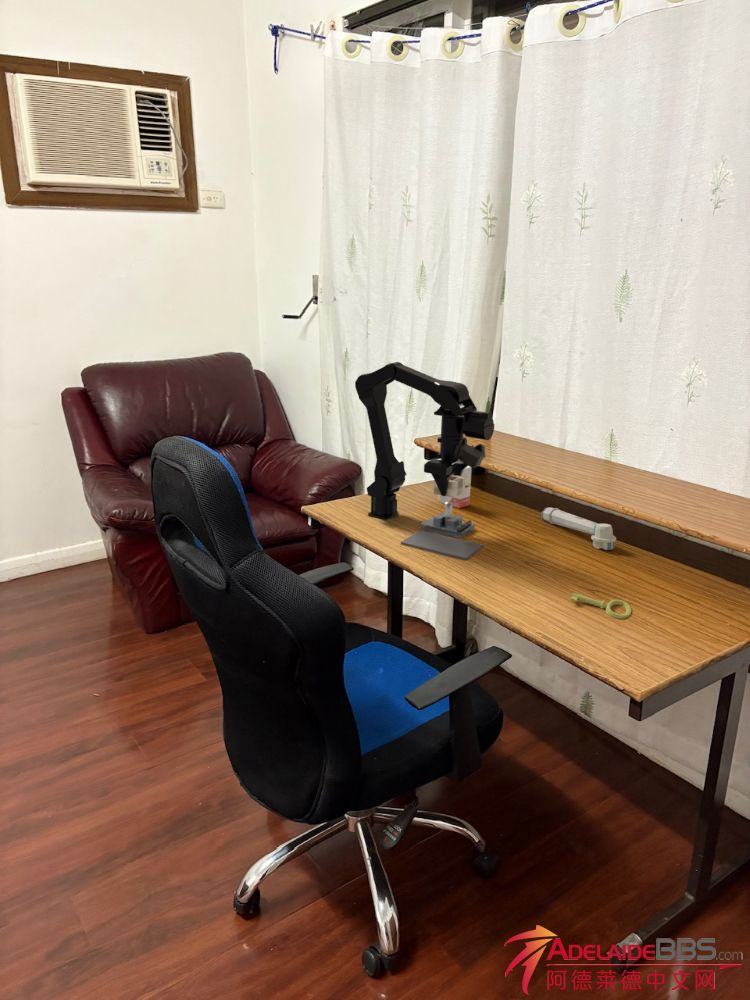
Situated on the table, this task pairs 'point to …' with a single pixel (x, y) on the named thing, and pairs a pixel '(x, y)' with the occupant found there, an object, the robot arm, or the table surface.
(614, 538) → the grey pipe fitting
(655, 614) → the table surface
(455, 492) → the collar
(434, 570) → the table surface
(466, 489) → the ink cartridge box
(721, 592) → the table surface
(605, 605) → the key
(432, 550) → the charcoal mat
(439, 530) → the vise
